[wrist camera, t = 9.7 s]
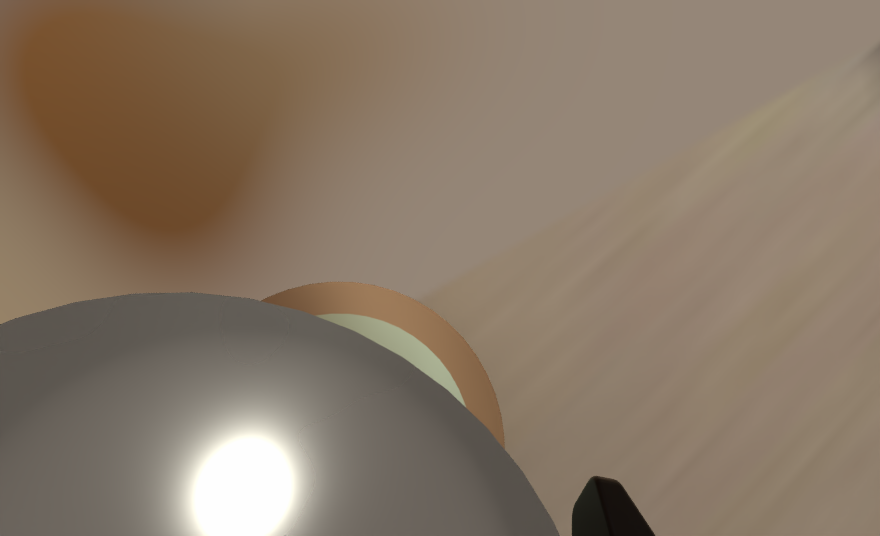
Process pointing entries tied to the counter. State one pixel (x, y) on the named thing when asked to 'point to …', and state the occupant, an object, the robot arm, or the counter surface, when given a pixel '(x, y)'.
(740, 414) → the counter surface
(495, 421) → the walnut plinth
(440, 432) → the grey tin
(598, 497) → the robot arm
